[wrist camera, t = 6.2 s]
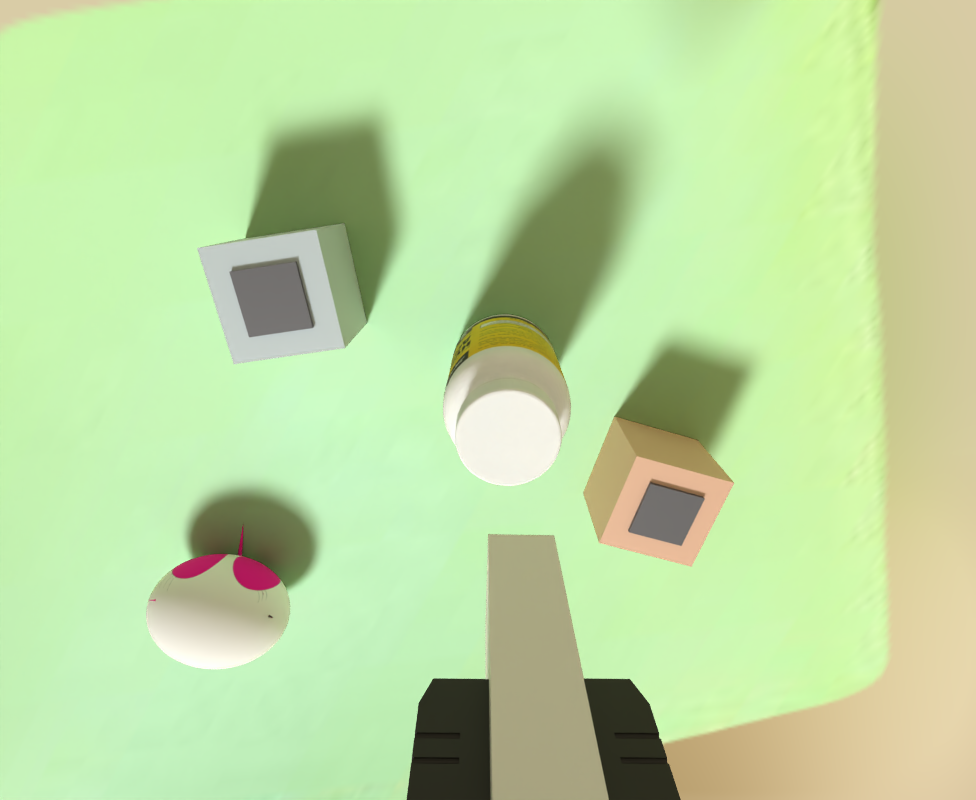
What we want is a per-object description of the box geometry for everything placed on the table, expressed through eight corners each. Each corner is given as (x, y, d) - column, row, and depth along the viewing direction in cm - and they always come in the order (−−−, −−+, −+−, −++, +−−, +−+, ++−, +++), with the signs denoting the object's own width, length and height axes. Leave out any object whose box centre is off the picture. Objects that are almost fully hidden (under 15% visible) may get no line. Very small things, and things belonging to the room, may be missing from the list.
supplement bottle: (456, 306, 29) (442, 361, 20) (561, 317, 29) (595, 376, 20) (448, 404, 31) (431, 496, 22) (546, 414, 31) (571, 509, 22)
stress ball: (317, 532, 37) (302, 532, 31) (287, 661, 35) (264, 690, 29) (199, 513, 37) (158, 508, 30) (161, 644, 35) (109, 669, 28)
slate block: (274, 336, 30) (232, 365, 25) (245, 238, 28) (194, 248, 23) (367, 322, 29) (343, 349, 24) (344, 222, 28) (314, 230, 23)
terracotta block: (583, 492, 33) (600, 545, 28) (614, 415, 31) (637, 457, 26) (662, 513, 33) (692, 569, 28) (697, 439, 32) (735, 485, 27)
